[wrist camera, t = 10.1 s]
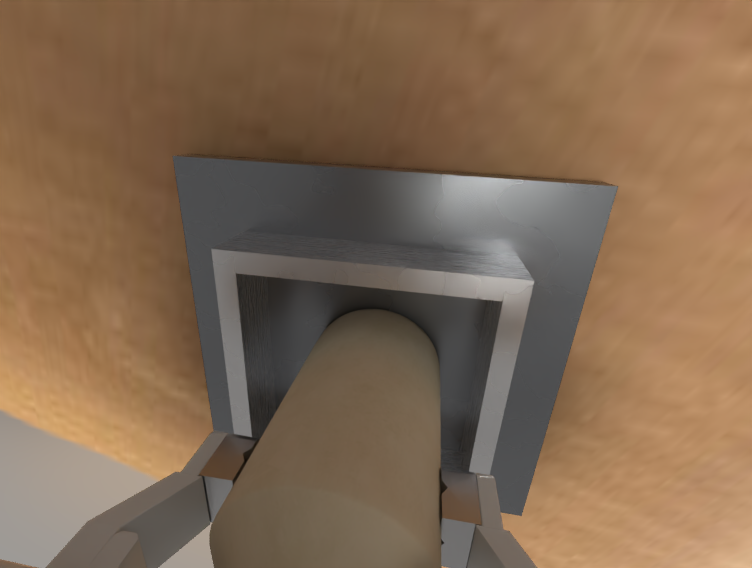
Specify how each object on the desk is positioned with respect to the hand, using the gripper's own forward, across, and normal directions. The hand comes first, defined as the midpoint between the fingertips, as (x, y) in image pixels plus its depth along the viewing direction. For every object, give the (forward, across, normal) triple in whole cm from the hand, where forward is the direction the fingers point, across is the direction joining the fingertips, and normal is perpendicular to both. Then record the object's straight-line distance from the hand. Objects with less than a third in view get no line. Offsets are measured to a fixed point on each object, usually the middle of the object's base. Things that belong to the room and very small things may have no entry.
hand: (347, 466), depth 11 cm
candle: (+6, 0, 0) cm, 6 cm away
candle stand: (+7, 0, 0) cm, 7 cm away
